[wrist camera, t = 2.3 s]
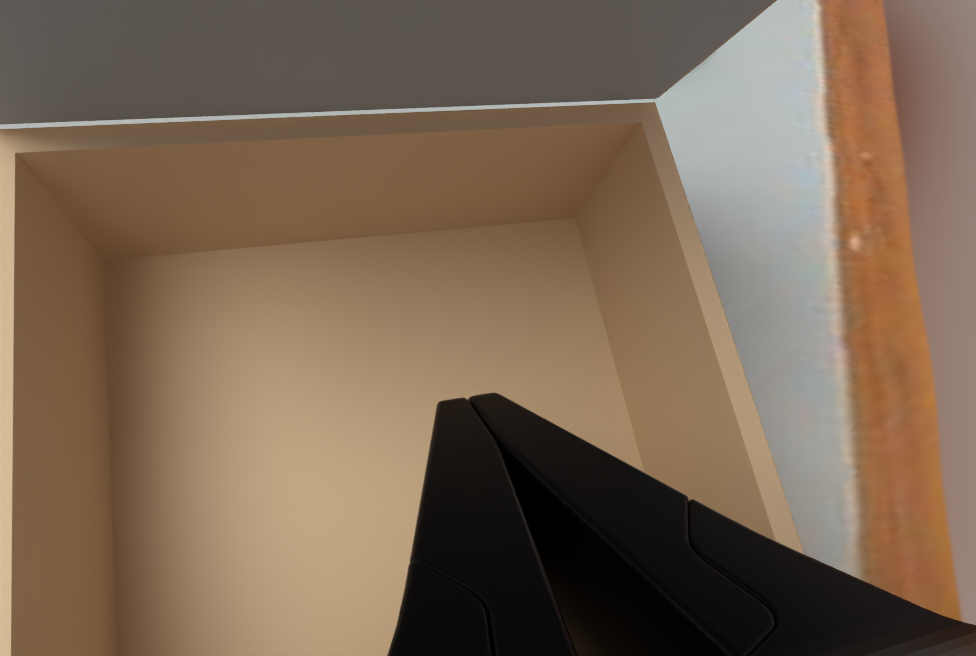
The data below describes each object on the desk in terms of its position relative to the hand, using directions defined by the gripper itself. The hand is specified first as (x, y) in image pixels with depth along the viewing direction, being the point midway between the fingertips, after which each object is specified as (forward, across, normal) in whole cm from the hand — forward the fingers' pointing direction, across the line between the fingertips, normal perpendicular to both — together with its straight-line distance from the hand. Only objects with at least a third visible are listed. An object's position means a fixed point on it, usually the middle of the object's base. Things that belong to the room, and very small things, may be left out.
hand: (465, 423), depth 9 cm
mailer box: (+8, 0, +7) cm, 11 cm away
